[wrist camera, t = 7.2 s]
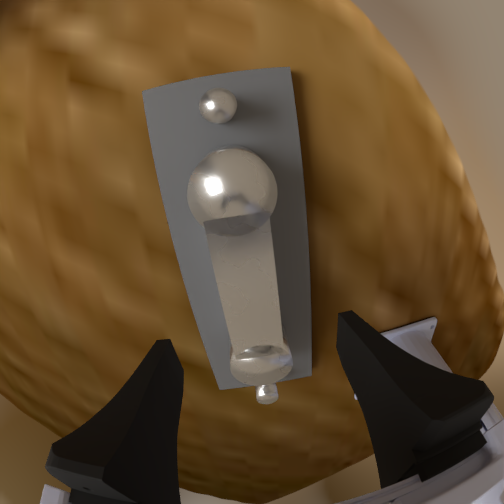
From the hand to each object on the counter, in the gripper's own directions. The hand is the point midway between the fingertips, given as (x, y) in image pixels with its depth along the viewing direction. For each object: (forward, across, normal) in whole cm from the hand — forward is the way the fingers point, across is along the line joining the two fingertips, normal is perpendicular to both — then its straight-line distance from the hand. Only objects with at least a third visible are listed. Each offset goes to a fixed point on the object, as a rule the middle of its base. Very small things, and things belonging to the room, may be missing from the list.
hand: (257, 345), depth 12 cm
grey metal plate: (+8, 0, 0) cm, 8 cm away
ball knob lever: (+7, 0, 0) cm, 7 cm away
